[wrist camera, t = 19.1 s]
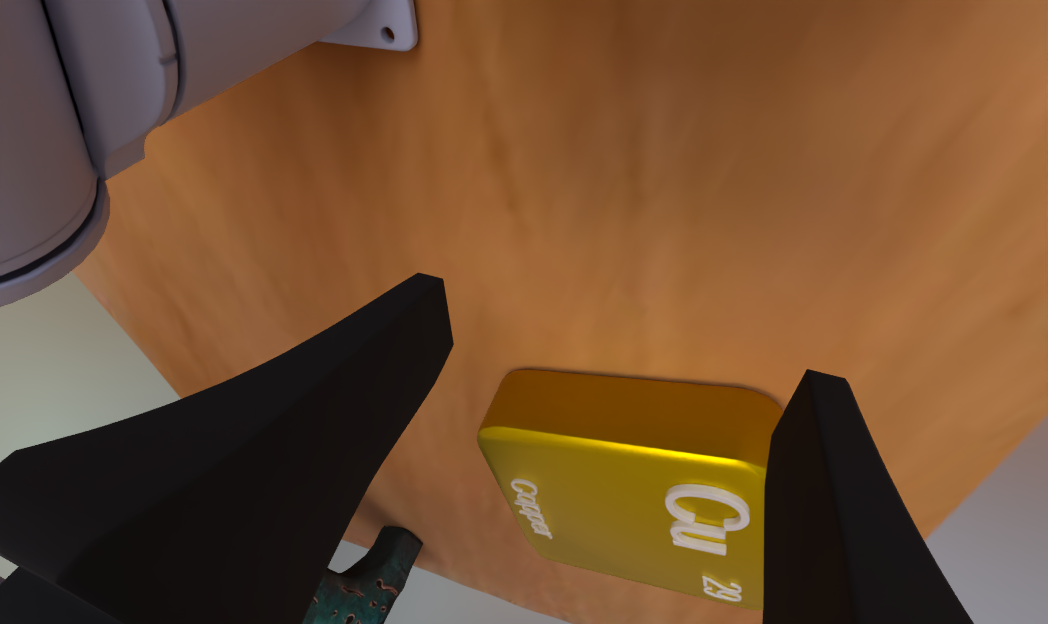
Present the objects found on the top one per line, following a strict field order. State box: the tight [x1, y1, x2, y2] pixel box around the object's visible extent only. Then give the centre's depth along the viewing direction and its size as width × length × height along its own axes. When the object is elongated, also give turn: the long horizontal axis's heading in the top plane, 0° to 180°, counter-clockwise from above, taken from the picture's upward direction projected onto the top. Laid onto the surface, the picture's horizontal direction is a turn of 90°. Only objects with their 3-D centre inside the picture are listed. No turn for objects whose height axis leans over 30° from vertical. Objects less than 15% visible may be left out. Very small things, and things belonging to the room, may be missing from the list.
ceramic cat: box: [302, 526, 423, 624], centre depth 46 cm, size 20×6×20 cm, turn 31°
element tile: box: [477, 370, 783, 610], centre depth 30 cm, size 15×15×5 cm
